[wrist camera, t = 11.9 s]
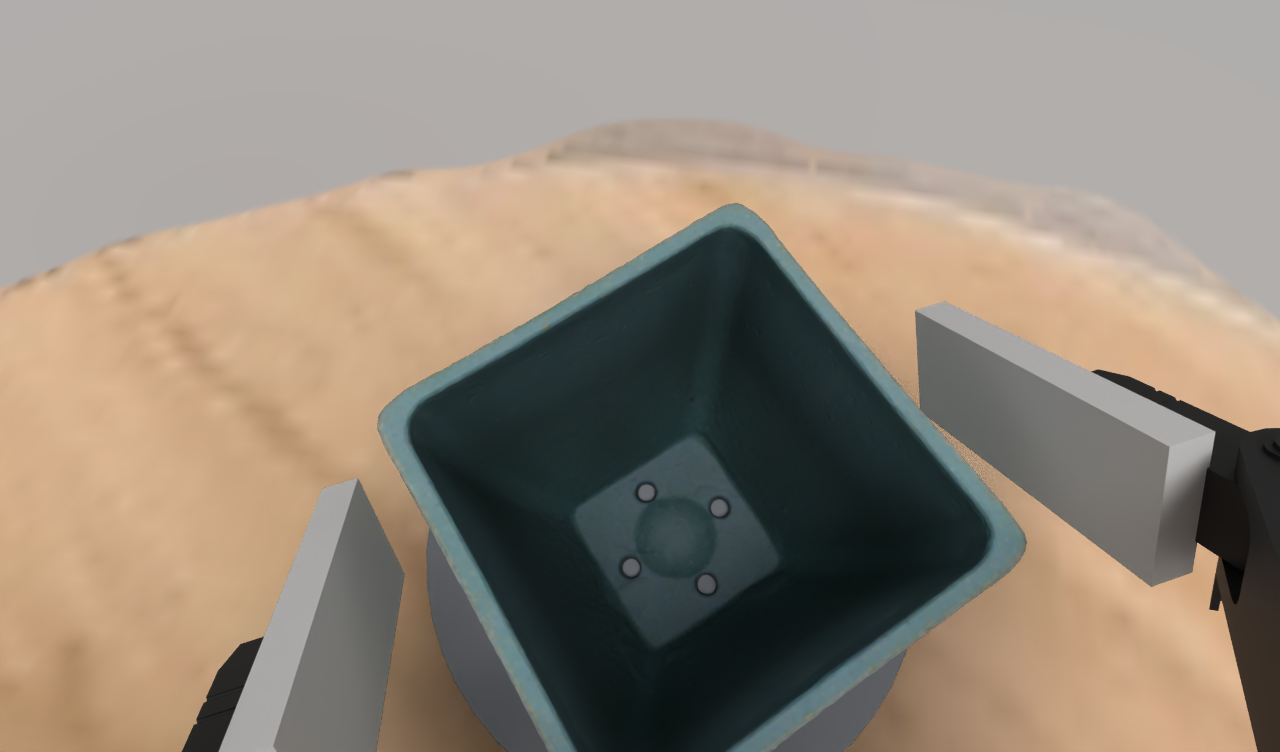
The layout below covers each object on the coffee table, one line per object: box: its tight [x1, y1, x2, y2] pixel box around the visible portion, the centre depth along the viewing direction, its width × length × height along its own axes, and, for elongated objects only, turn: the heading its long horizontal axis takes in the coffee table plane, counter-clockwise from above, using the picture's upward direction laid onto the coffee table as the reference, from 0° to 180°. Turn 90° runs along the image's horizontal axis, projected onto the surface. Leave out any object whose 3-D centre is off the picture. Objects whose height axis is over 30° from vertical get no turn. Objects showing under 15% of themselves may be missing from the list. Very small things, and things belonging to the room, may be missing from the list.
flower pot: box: [377, 203, 1027, 752], centre depth 17 cm, size 9×9×9 cm
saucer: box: [427, 485, 906, 752], centre depth 21 cm, size 15×15×1 cm
